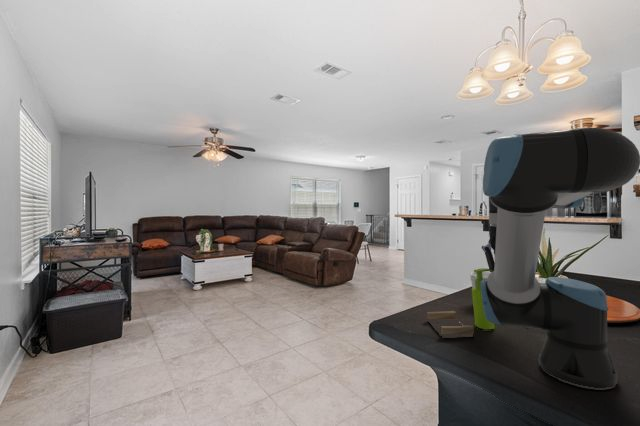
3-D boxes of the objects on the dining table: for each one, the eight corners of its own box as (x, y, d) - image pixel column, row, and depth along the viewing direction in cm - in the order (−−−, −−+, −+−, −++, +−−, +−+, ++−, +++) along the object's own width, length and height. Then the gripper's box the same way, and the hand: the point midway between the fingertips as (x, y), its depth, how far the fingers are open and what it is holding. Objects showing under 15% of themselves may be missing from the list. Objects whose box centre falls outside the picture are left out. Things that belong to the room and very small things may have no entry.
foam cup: (465, 304, 128) (465, 273, 127) (481, 300, 131) (480, 270, 131) (486, 311, 119) (486, 278, 118) (502, 307, 123) (501, 275, 122)
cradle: (473, 337, 98) (473, 326, 98) (442, 339, 98) (442, 328, 98) (454, 320, 112) (454, 310, 112) (427, 321, 112) (426, 312, 112)
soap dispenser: (501, 329, 102) (495, 270, 101) (480, 331, 102) (474, 272, 101) (492, 321, 108) (486, 266, 107) (472, 324, 108) (466, 268, 107)
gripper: (514, 223, 107) (514, 289, 108) (476, 225, 107) (478, 291, 109) (528, 225, 100) (529, 296, 101) (488, 227, 100) (489, 298, 101)
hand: (502, 293), depth 105 cm, fingers closed
